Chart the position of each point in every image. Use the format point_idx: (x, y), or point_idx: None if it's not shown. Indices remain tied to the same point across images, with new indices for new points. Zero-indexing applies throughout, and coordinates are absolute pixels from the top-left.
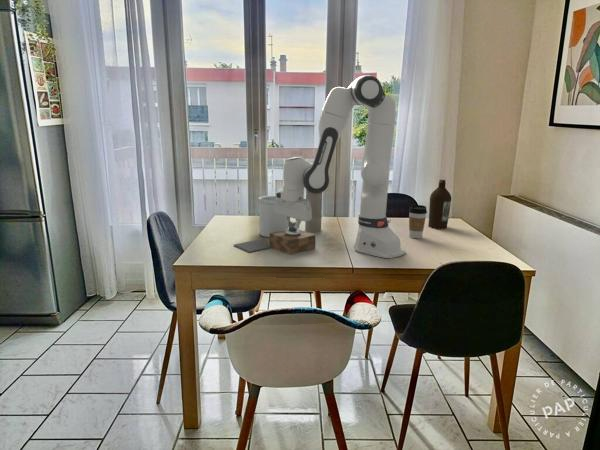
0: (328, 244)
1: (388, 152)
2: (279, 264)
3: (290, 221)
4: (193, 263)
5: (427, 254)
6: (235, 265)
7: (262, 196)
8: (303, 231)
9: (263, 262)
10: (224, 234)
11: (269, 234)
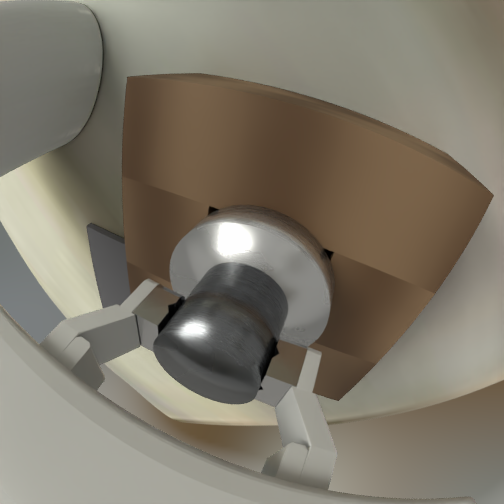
0: (474, 11)
1: None
2: (357, 410)
3: (129, 318)
4: (177, 415)
5: None
6: (250, 424)
7: None
8: (288, 119)
9: None
10: (18, 217)
11: (64, 142)
